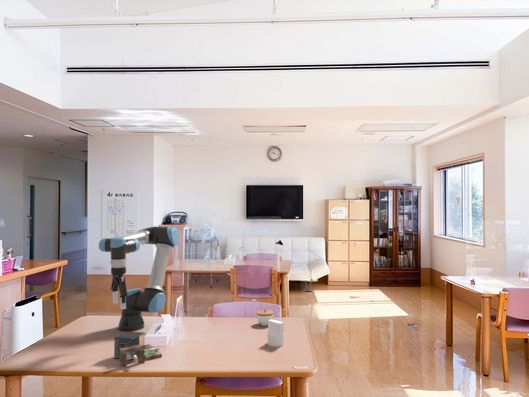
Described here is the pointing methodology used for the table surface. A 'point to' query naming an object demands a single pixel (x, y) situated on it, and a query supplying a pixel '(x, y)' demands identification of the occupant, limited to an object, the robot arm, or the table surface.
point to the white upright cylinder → (275, 333)
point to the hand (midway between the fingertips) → (119, 306)
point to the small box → (124, 343)
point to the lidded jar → (264, 316)
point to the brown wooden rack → (136, 353)
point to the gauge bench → (141, 354)
